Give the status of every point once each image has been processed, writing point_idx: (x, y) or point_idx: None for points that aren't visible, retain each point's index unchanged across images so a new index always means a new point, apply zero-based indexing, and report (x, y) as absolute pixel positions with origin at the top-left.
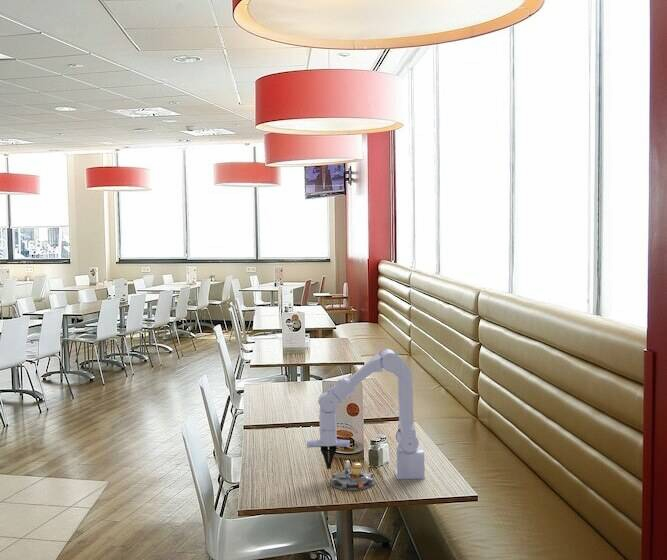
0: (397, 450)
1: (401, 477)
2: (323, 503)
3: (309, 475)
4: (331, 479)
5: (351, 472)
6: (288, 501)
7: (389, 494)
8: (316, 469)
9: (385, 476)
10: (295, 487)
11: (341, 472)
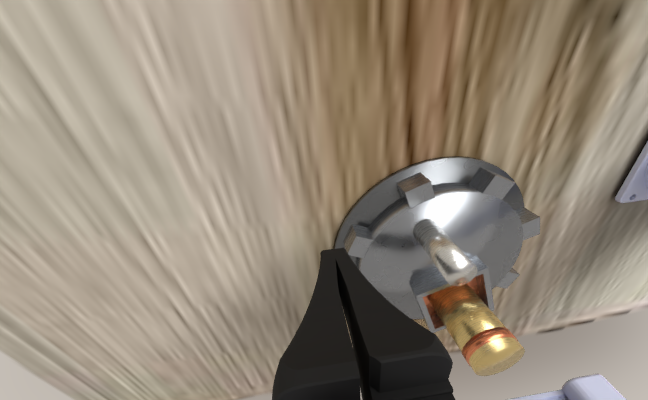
0: None
1: (640, 195)
2: None
3: (209, 174)
4: (339, 239)
5: (446, 325)
6: (221, 381)
7: (516, 310)
8: (218, 56)
9: (587, 162)
10: (199, 305)
11: (395, 229)
